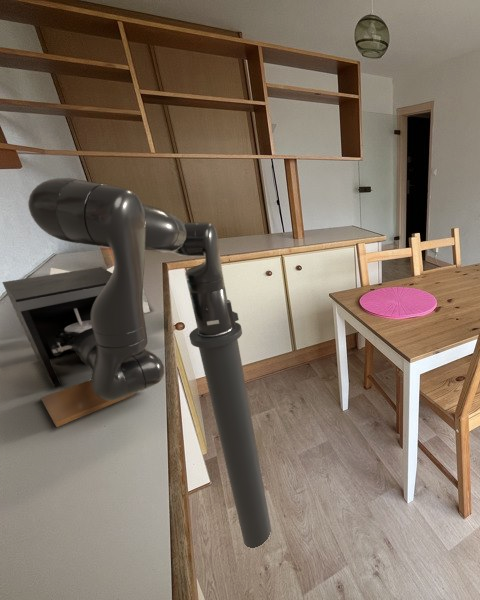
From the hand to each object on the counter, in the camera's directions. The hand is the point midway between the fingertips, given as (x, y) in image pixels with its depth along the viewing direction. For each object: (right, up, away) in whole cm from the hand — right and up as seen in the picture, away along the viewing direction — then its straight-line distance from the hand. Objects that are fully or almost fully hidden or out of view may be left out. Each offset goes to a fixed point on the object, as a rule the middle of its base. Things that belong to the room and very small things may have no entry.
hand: (81, 327), depth 78 cm
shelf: (+2, -8, +2) cm, 9 cm away
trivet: (+14, -14, -11) cm, 23 cm away
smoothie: (+2, -9, +2) cm, 9 cm away
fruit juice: (-54, +21, +72) cm, 92 cm away
